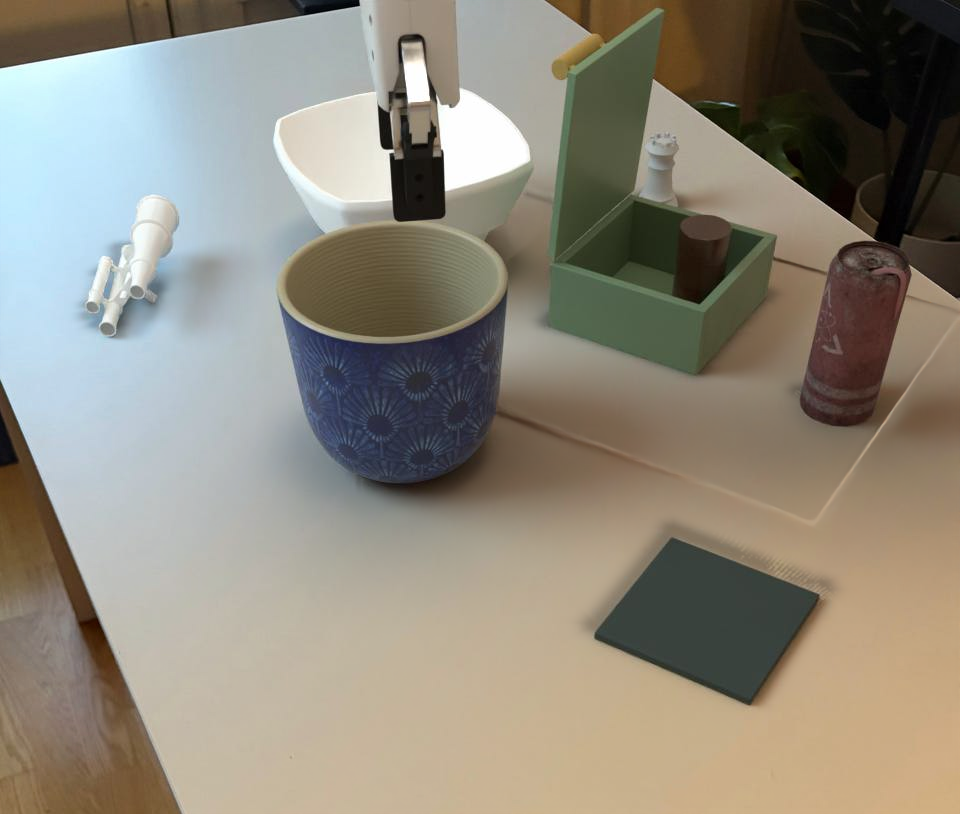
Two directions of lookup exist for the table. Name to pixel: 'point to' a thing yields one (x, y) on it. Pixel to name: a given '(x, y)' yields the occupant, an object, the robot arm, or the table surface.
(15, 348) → the table surface
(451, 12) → the robot arm
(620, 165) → the lid
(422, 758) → the table surface
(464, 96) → the bowl
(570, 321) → the box
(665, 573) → the mat
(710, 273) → the brown cylinder
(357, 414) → the planter
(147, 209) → the white plastic piece
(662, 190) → the rook chess piece
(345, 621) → the table surface
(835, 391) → the can
